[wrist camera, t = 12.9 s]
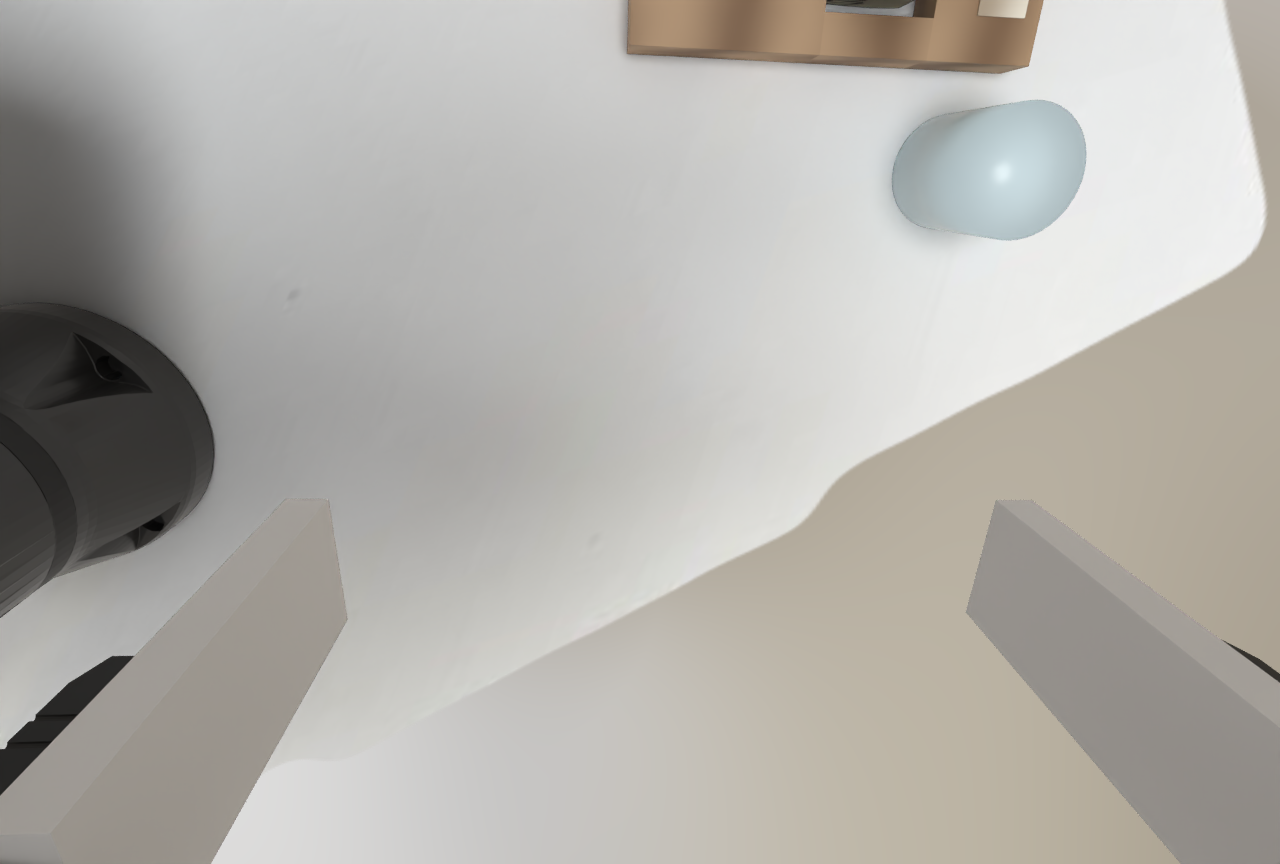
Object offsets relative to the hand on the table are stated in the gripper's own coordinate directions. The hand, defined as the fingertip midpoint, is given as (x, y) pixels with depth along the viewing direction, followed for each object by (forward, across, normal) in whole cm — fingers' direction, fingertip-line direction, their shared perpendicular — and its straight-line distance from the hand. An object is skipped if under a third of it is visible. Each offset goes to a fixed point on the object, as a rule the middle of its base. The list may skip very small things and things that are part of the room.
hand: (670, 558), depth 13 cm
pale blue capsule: (+27, +18, +8) cm, 33 cm away
